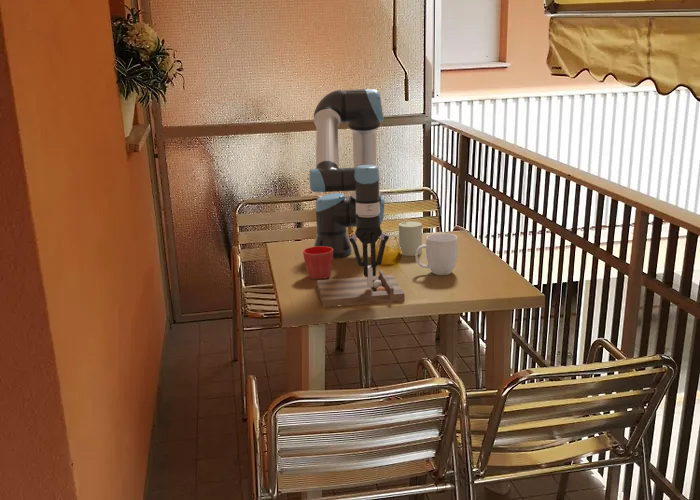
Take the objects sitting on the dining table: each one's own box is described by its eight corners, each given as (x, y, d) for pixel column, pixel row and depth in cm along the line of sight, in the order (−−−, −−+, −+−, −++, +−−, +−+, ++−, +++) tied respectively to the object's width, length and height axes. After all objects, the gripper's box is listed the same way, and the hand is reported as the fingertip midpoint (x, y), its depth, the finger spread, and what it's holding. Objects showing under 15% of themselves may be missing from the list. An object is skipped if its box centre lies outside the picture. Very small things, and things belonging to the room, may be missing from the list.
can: (406, 248, 290) (406, 219, 287) (426, 251, 285) (426, 221, 281) (394, 253, 283) (393, 224, 279) (414, 257, 277) (414, 226, 274)
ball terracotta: (373, 287, 236) (382, 283, 236) (377, 295, 237) (386, 291, 237) (375, 291, 233) (384, 286, 233) (379, 299, 234) (388, 294, 234)
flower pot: (299, 274, 262) (298, 248, 259) (328, 269, 266) (326, 244, 263) (310, 282, 252) (308, 255, 250) (339, 277, 256) (338, 251, 254)
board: (317, 287, 246) (316, 274, 245) (392, 281, 249) (392, 269, 248) (323, 307, 227) (322, 293, 226) (404, 300, 230) (404, 287, 229)
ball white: (371, 280, 243) (379, 277, 243) (373, 288, 244) (382, 285, 244) (372, 283, 240) (381, 280, 240) (375, 292, 241) (384, 288, 241)
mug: (417, 278, 252) (417, 242, 248) (413, 269, 262) (413, 234, 259) (460, 276, 252) (460, 240, 249) (454, 267, 263) (454, 232, 259)
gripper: (349, 218, 224) (351, 291, 230) (390, 216, 225) (392, 287, 231) (345, 213, 231) (348, 283, 237) (386, 210, 232) (387, 280, 239)
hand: (370, 285), depth 234 cm, fingers closed
